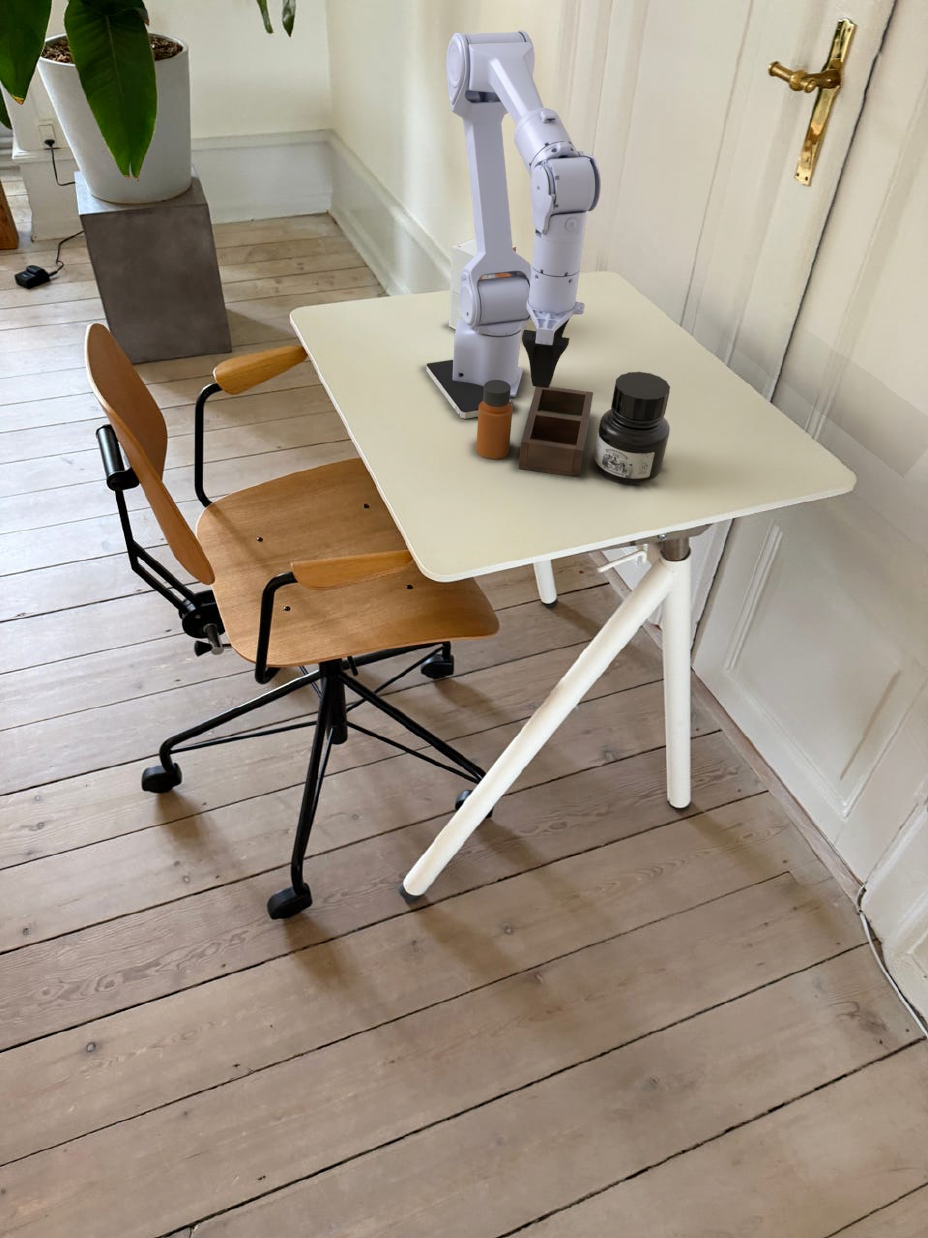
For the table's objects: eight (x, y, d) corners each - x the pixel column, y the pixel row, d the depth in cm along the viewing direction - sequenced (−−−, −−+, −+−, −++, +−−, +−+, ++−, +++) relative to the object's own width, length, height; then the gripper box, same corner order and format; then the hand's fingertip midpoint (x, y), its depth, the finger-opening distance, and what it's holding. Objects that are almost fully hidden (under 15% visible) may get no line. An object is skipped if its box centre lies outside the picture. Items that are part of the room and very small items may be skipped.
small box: (475, 340, 146) (479, 258, 137) (447, 326, 150) (450, 245, 141) (510, 325, 151) (517, 245, 142) (483, 312, 154) (487, 232, 145)
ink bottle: (577, 465, 122) (589, 384, 114) (614, 439, 127) (628, 359, 119) (640, 496, 118) (657, 413, 110) (675, 467, 123) (695, 386, 115)
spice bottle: (473, 456, 123) (477, 392, 116) (479, 438, 126) (483, 375, 119) (506, 461, 122) (511, 397, 116) (511, 443, 125) (517, 380, 119)
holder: (518, 468, 121) (521, 441, 118) (533, 410, 132) (536, 384, 129) (579, 477, 120) (583, 450, 117) (589, 417, 131) (593, 391, 128)
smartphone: (474, 355, 141) (514, 403, 131) (474, 363, 142) (513, 411, 132) (424, 363, 138) (461, 412, 128) (424, 370, 139) (461, 420, 129)
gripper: (584, 296, 104) (570, 403, 114) (593, 246, 115) (579, 348, 124) (522, 289, 105) (513, 396, 114) (537, 240, 115) (527, 342, 125)
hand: (544, 371), depth 119 cm, fingers open, 7 cm apart
